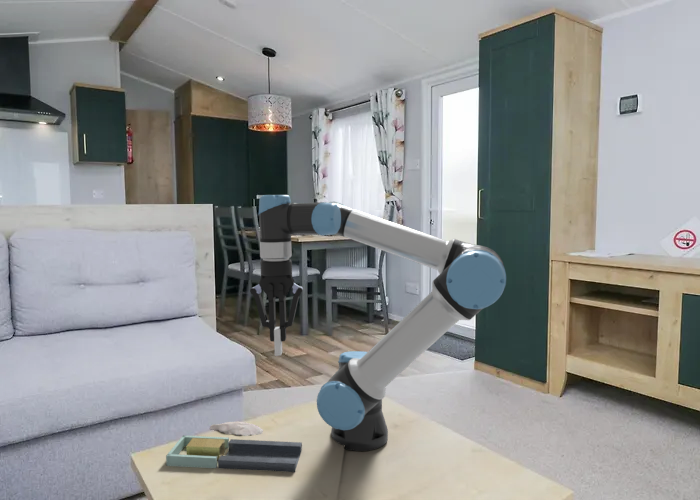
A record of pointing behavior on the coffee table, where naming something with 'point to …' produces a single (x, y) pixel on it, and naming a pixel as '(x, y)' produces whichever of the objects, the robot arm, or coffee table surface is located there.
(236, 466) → the slot board
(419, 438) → the coffee table surface
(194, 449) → the chip
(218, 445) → the chip
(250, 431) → the stone tool
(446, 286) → the robot arm
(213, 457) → the tray
